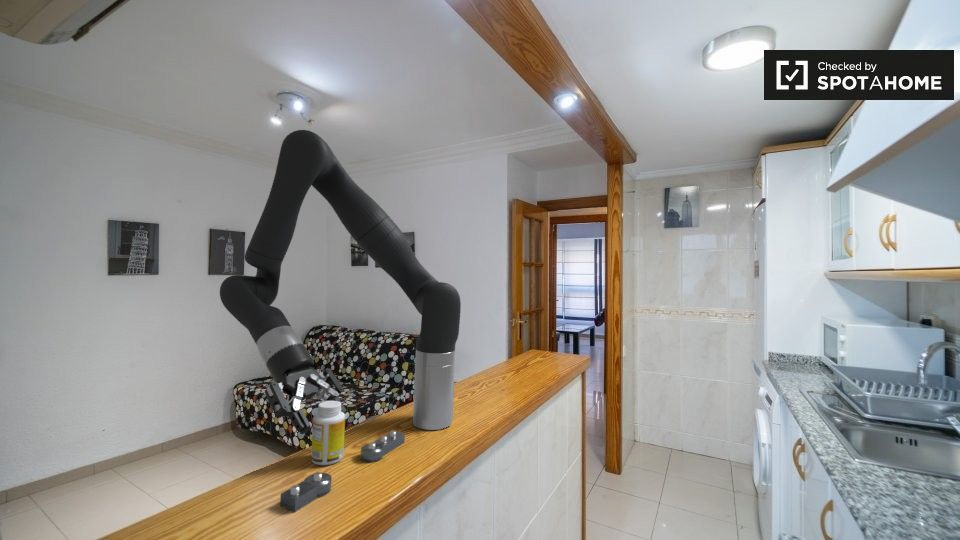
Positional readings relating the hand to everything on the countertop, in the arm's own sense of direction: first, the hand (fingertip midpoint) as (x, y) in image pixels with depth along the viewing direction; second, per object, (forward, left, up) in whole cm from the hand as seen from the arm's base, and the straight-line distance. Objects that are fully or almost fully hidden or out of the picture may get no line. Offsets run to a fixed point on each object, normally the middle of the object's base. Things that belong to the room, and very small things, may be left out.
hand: (325, 423), depth 72 cm
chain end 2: (-8, +7, -6) cm, 12 cm away
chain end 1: (+11, +7, -6) cm, 15 cm away
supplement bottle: (0, +1, -7) cm, 7 cm away
